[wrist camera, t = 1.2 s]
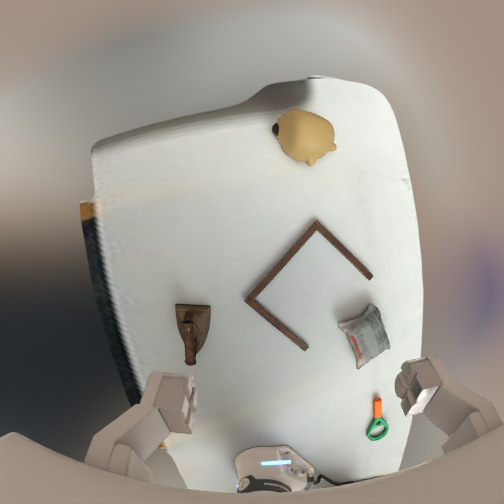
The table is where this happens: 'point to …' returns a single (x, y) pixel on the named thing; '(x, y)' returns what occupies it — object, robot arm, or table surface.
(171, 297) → the table surface
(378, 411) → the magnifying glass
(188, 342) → the clothes iron
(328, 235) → the bay
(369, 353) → the packaged food
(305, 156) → the toy pig
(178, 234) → the table surface
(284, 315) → the table surface
